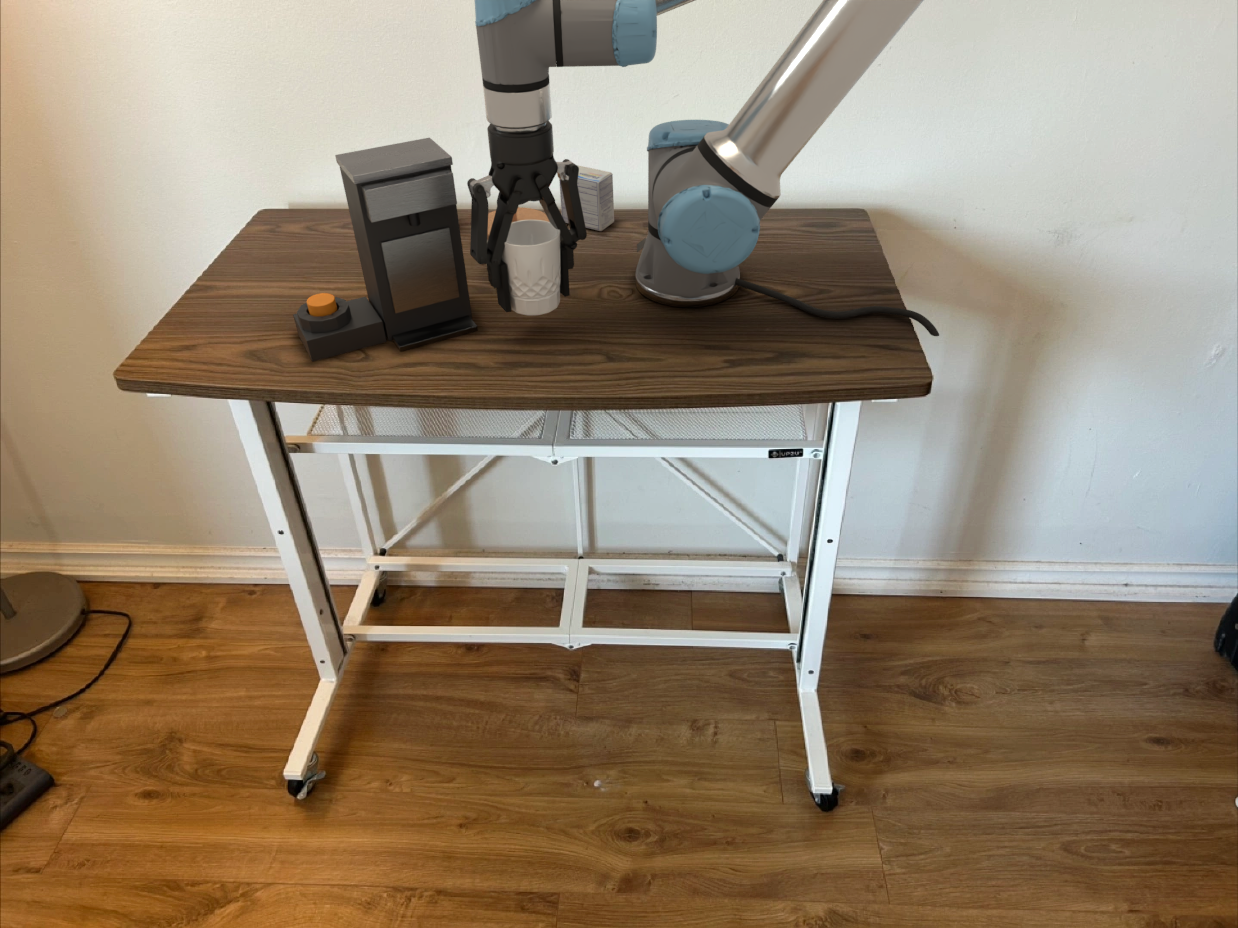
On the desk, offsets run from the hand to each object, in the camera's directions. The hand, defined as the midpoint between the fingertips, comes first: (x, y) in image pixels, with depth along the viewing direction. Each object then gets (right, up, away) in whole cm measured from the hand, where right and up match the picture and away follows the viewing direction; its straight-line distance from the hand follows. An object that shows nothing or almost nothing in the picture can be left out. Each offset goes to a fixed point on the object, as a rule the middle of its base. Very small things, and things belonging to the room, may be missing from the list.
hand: (534, 299), depth 117 cm
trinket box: (-4, +8, +19) cm, 21 cm away
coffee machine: (-16, -2, +7) cm, 17 cm away
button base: (-26, -5, +4) cm, 27 cm away
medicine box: (+6, +19, +32) cm, 38 cm away
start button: (-28, -1, +1) cm, 28 cm away
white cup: (0, -1, 0) cm, 1 cm away
